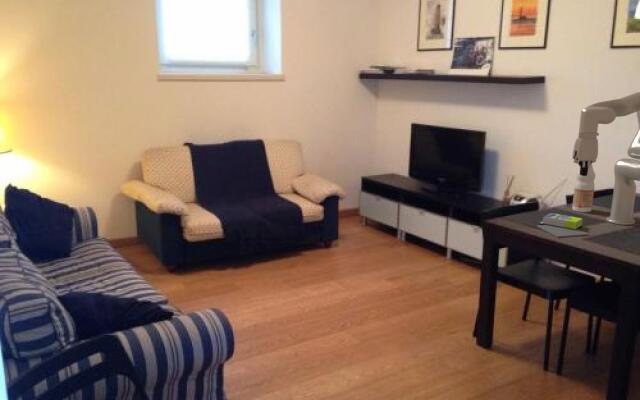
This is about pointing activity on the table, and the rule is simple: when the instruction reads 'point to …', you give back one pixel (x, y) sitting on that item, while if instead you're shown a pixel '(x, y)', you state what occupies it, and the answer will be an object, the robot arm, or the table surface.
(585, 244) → the table surface
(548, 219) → the box
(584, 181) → the fruit juice
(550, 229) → the mat
